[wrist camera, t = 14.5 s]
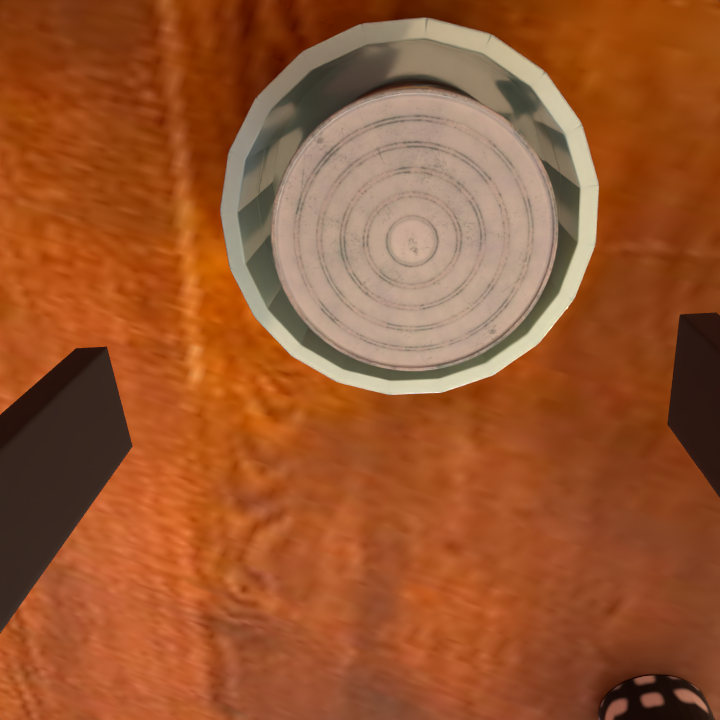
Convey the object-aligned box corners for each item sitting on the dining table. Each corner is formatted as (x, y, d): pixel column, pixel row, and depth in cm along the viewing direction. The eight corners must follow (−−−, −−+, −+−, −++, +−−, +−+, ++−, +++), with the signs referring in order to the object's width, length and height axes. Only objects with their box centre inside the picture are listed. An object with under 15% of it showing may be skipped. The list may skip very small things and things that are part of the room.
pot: (283, 334, 42) (251, 401, 34) (242, 44, 36) (190, 40, 27) (552, 320, 41) (587, 386, 32) (562, 13, 34) (610, -2, 26)
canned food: (559, 160, 36) (621, 205, 25) (434, 320, 41) (441, 417, 30) (387, 32, 34) (374, 20, 23) (275, 214, 39) (220, 275, 28)
